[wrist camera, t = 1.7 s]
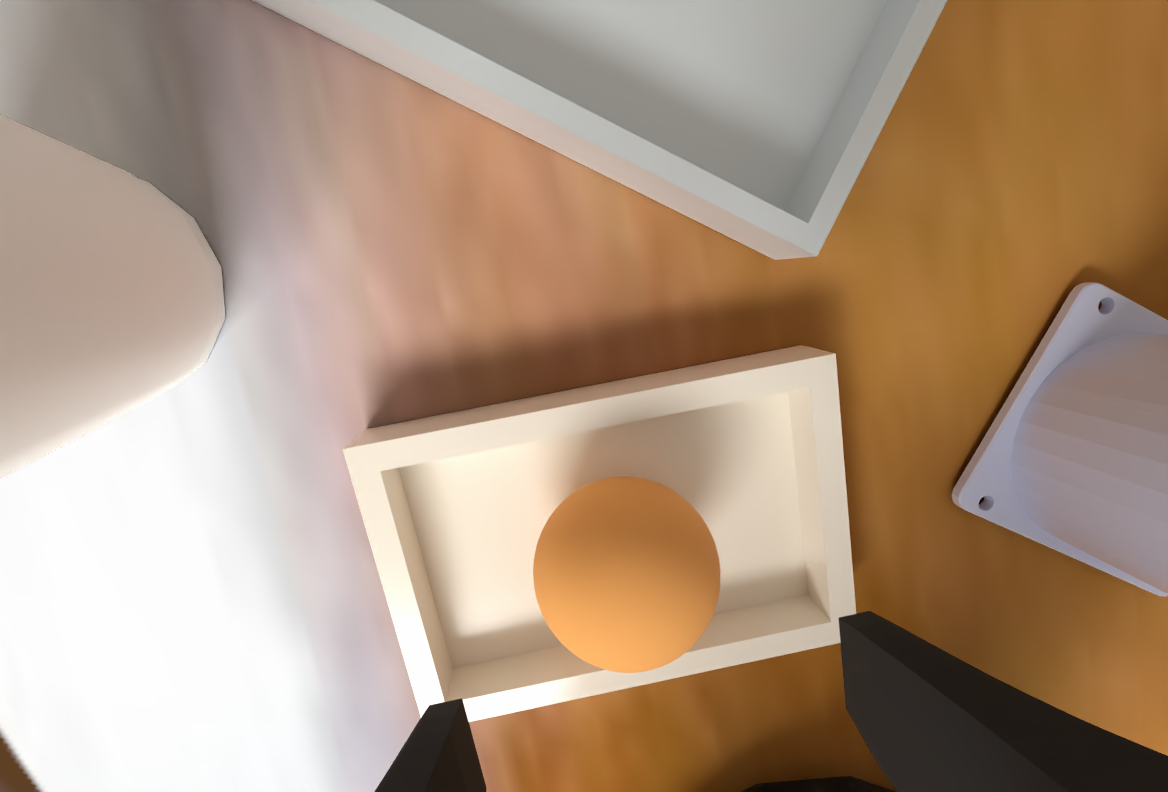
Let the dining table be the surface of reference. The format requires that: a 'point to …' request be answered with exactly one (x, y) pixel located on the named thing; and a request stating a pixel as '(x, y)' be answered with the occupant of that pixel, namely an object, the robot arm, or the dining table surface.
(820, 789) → the beer stein
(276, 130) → the dining table surface
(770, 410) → the dish
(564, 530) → the ball
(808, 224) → the tray
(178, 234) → the foam cup
